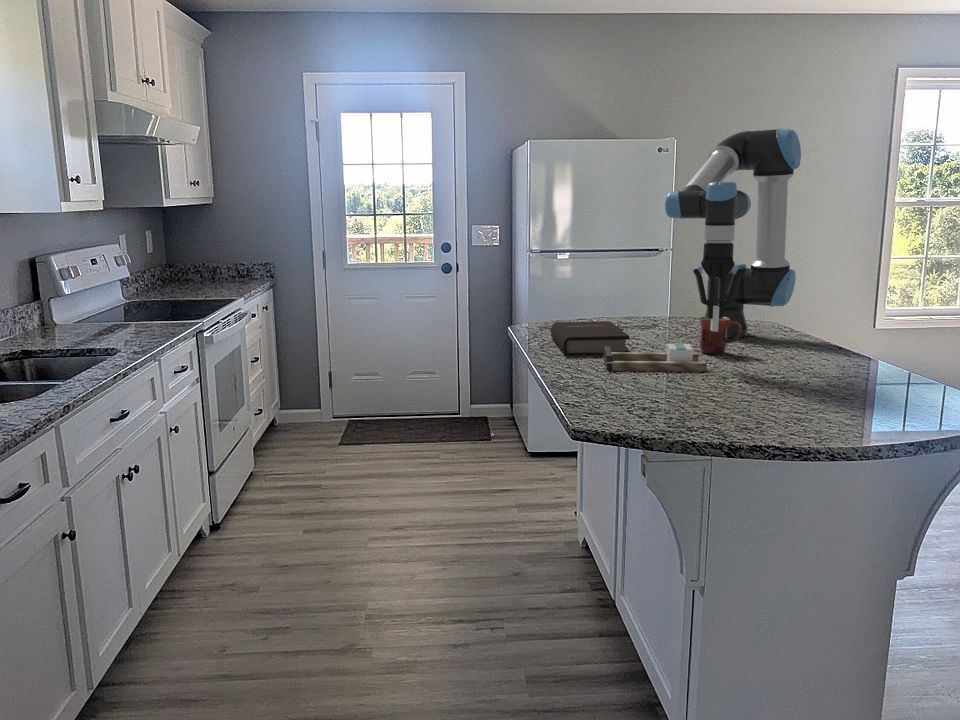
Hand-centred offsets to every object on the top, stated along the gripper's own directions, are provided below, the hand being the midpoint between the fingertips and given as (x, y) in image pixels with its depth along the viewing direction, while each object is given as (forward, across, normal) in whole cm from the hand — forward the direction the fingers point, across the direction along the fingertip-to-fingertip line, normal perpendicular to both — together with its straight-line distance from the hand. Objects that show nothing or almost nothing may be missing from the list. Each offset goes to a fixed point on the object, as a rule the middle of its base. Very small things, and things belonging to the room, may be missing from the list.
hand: (714, 330), depth 212 cm
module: (+10, +9, 0) cm, 13 cm away
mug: (+10, -5, -18) cm, 21 cm away
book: (+10, +32, -29) cm, 44 cm away
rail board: (+10, +16, 0) cm, 19 cm away
